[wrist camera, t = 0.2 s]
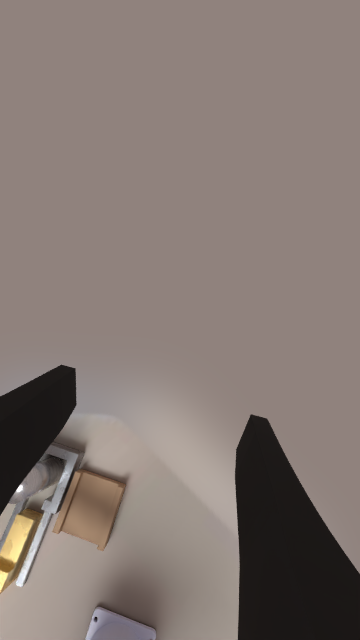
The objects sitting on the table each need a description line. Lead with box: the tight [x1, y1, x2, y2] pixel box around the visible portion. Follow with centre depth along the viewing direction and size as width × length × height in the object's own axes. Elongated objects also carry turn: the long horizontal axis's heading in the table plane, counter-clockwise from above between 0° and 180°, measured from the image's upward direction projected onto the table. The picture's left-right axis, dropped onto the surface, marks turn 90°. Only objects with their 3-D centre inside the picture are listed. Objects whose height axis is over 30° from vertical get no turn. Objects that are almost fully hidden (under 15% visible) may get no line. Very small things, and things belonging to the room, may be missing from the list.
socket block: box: [0, 442, 85, 587], centre depth 34 cm, size 16×7×2 cm, turn 164°
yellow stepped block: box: [0, 508, 43, 594], centre depth 32 cm, size 7×2×4 cm, turn 164°
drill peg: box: [9, 458, 64, 504], centre depth 33 cm, size 4×4×8 cm
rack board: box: [52, 469, 126, 551], centre depth 34 cm, size 7×7×2 cm
